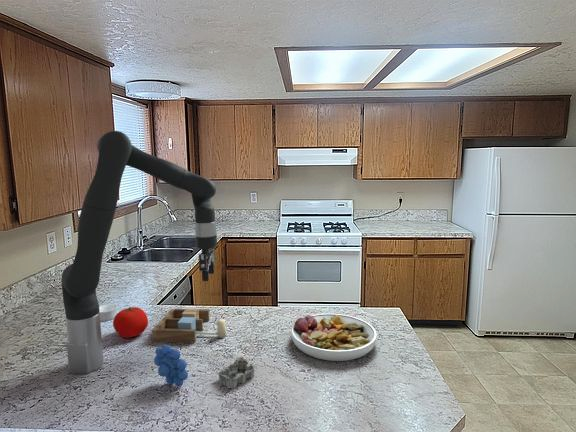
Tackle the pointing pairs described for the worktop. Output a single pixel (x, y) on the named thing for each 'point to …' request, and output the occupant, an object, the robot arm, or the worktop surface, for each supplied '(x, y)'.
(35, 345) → the worktop surface
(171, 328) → the lane rack
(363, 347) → the bowl
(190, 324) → the tethered block
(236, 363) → the egg carton
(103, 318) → the ramekin
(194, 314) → the plain oak block
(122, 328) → the tomato
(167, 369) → the grapes
